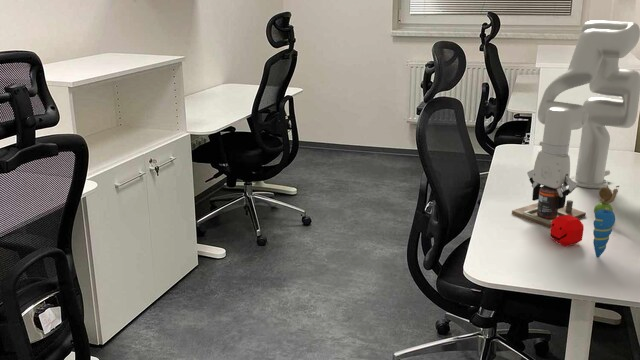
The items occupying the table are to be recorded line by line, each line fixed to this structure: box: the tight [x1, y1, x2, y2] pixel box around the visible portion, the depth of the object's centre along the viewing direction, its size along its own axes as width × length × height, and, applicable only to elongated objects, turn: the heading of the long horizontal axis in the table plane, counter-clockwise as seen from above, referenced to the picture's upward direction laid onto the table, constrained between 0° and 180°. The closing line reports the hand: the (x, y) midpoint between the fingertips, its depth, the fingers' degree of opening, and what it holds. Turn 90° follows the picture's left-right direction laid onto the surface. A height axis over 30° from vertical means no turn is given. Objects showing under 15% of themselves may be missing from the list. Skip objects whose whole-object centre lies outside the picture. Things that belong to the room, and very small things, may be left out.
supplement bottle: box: [537, 185, 559, 219], centre depth 189 cm, size 6×6×11 cm
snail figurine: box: [593, 185, 620, 215], centre depth 190 cm, size 5×6×12 cm
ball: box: [549, 214, 585, 247], centre depth 173 cm, size 8×8×8 cm
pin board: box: [511, 199, 587, 229], centre depth 194 cm, size 18×14×5 cm
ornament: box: [592, 207, 616, 259], centre depth 163 cm, size 5×5×15 cm
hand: (547, 203), depth 189 cm, fingers open, 8 cm apart
